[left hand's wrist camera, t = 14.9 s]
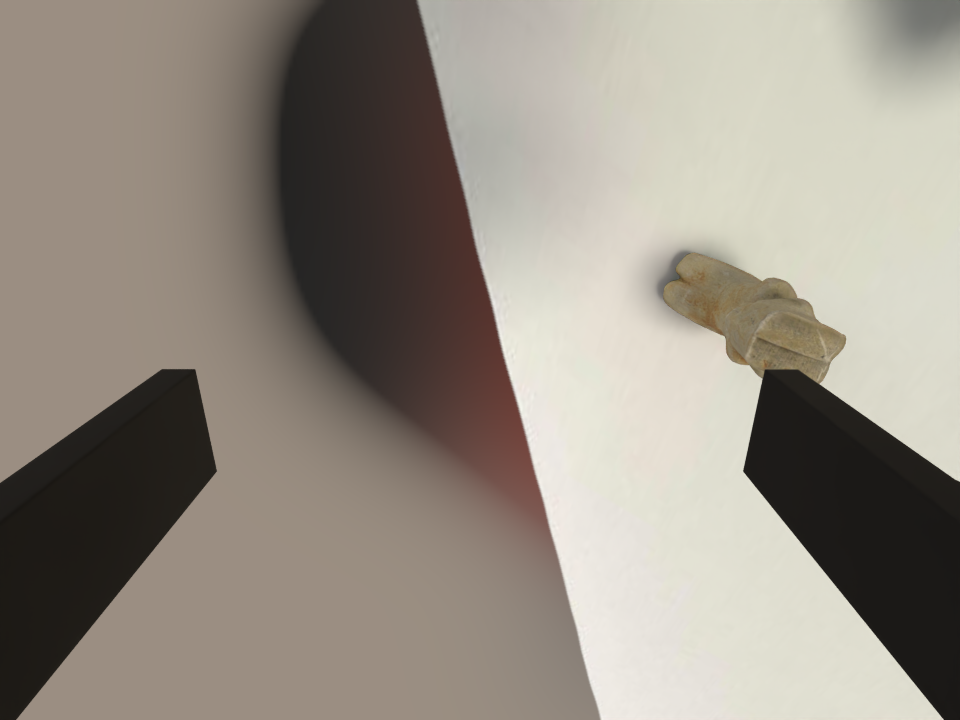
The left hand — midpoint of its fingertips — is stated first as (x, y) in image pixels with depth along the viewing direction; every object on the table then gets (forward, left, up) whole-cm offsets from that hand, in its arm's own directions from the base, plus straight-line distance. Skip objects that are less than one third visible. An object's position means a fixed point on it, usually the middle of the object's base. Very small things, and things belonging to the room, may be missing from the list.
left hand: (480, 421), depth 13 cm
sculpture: (+9, +16, -31) cm, 36 cm away
